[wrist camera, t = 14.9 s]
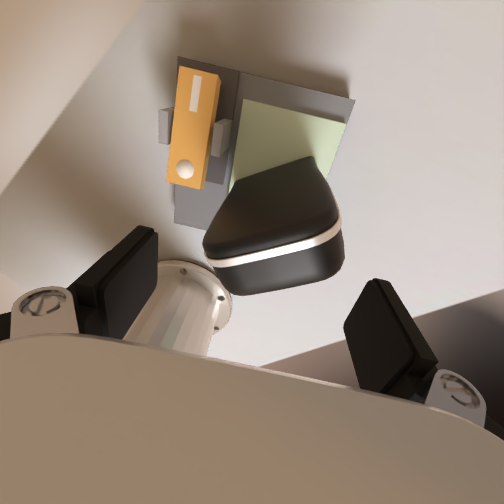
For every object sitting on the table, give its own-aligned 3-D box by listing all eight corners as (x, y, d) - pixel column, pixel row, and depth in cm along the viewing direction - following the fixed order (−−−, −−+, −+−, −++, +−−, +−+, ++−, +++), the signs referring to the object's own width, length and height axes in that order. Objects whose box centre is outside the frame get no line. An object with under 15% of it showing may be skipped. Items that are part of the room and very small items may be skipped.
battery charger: (247, 220, 23) (220, 314, 13) (231, 180, 21) (187, 255, 11) (325, 197, 21) (360, 289, 11) (316, 151, 19) (347, 214, 10)
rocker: (203, 188, 19) (199, 189, 18) (172, 181, 19) (165, 181, 18) (221, 81, 17) (217, 74, 15) (185, 72, 17) (179, 65, 15)
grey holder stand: (298, 241, 26) (301, 274, 22) (181, 214, 26) (158, 241, 22) (349, 99, 19) (370, 102, 15) (188, 59, 19) (157, 50, 14)
